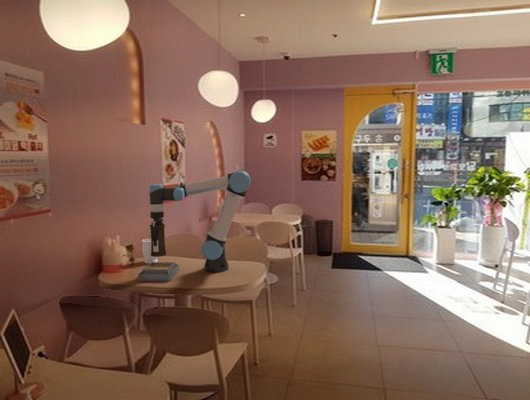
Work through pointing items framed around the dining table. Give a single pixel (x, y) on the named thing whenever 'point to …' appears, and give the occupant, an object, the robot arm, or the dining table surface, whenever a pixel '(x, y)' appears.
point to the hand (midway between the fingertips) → (158, 249)
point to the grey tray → (159, 271)
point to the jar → (148, 251)
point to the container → (159, 242)
